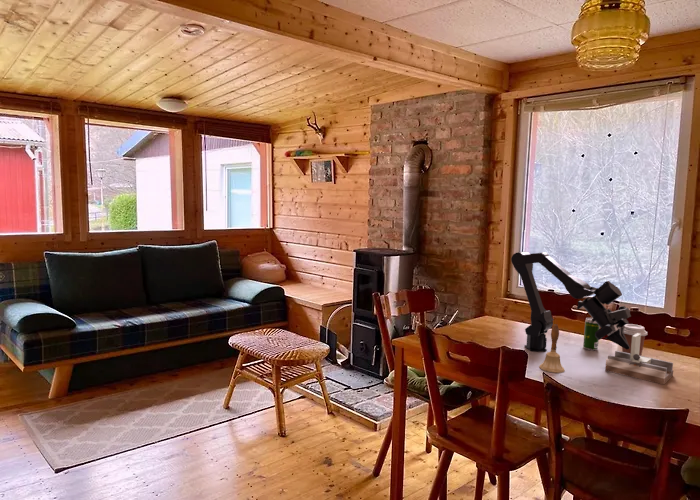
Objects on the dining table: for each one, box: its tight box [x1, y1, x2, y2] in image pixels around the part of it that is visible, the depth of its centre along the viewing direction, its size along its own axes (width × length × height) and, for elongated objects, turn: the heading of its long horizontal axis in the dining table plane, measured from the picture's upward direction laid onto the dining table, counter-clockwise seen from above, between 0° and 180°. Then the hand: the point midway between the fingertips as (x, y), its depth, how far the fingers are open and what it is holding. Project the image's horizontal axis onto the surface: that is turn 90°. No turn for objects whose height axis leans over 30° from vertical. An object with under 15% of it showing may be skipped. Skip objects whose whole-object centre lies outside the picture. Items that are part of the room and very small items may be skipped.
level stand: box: [604, 350, 674, 385], centre depth 179 cm, size 18×12×5 cm, turn 46°
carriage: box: [630, 333, 651, 364], centre depth 177 cm, size 5×9×11 cm, turn 136°
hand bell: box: [538, 323, 565, 374], centre depth 180 cm, size 8×8×16 cm
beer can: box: [582, 317, 600, 351], centre depth 206 cm, size 5×5×12 cm
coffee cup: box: [621, 323, 648, 356], centre depth 196 cm, size 9×9×12 cm
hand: (628, 348), depth 181 cm, fingers closed
